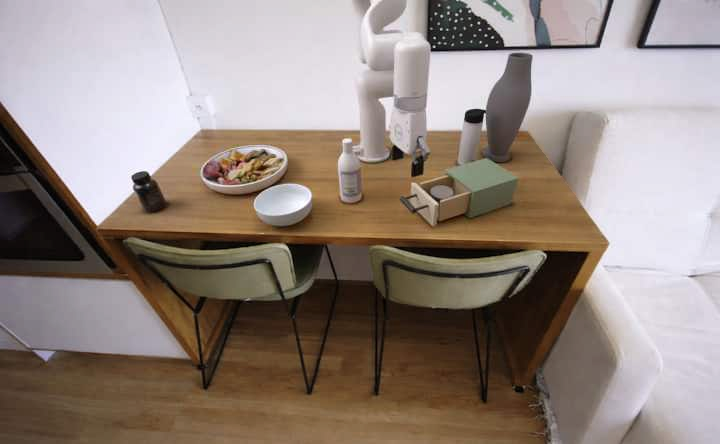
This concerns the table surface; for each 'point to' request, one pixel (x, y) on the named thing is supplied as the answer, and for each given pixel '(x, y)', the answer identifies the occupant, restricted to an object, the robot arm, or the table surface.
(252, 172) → the bowl
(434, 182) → the drawer
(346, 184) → the bath foam
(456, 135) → the table surface
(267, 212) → the cereal bowl
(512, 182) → the cabinet
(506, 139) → the vase
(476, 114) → the travel mug
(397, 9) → the robot arm
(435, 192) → the tin
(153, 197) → the supplement bottle
